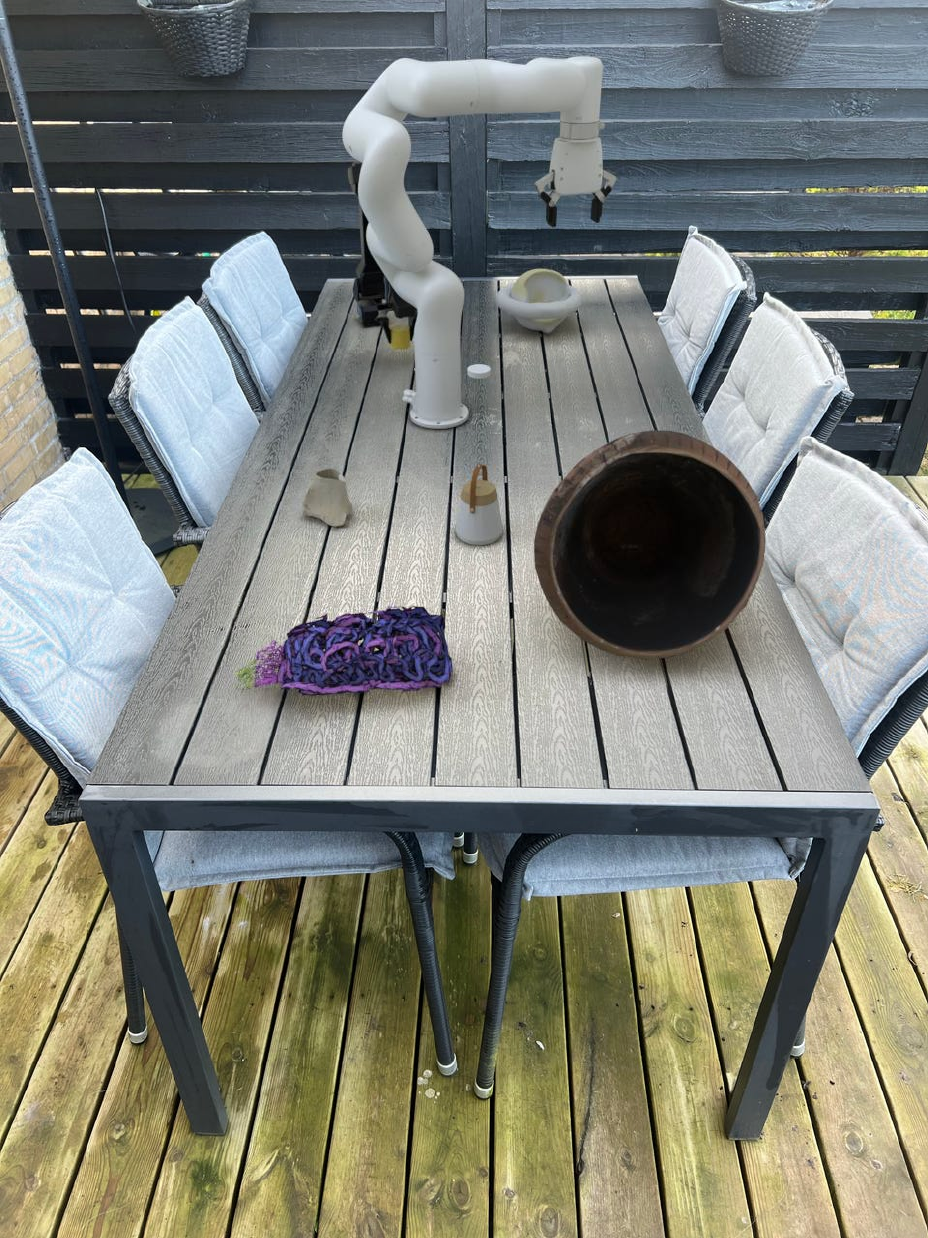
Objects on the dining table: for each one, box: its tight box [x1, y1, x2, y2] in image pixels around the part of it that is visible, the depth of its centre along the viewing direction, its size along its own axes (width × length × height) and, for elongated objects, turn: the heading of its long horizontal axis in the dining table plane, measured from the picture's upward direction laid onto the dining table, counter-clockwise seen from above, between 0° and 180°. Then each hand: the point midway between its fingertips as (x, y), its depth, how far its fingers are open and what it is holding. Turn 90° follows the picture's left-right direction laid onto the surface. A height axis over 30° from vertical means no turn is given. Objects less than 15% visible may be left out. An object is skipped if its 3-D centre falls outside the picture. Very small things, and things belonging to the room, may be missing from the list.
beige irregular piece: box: [301, 468, 353, 528], centre depth 164 cm, size 9×8×10 cm
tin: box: [389, 323, 411, 351], centre depth 221 cm, size 5×5×5 cm
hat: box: [495, 268, 583, 334], centre depth 236 cm, size 25×22×15 cm
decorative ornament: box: [235, 605, 454, 697], centre depth 129 cm, size 13×11×30 cm
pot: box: [533, 429, 767, 660], centre depth 139 cm, size 32×32×30 cm
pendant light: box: [455, 363, 503, 546], centre depth 153 cm, size 8×8×30 cm
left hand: (400, 341), depth 221 cm, fingers closed on tin, 5 cm apart
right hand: (573, 223), depth 191 cm, fingers open, 9 cm apart
